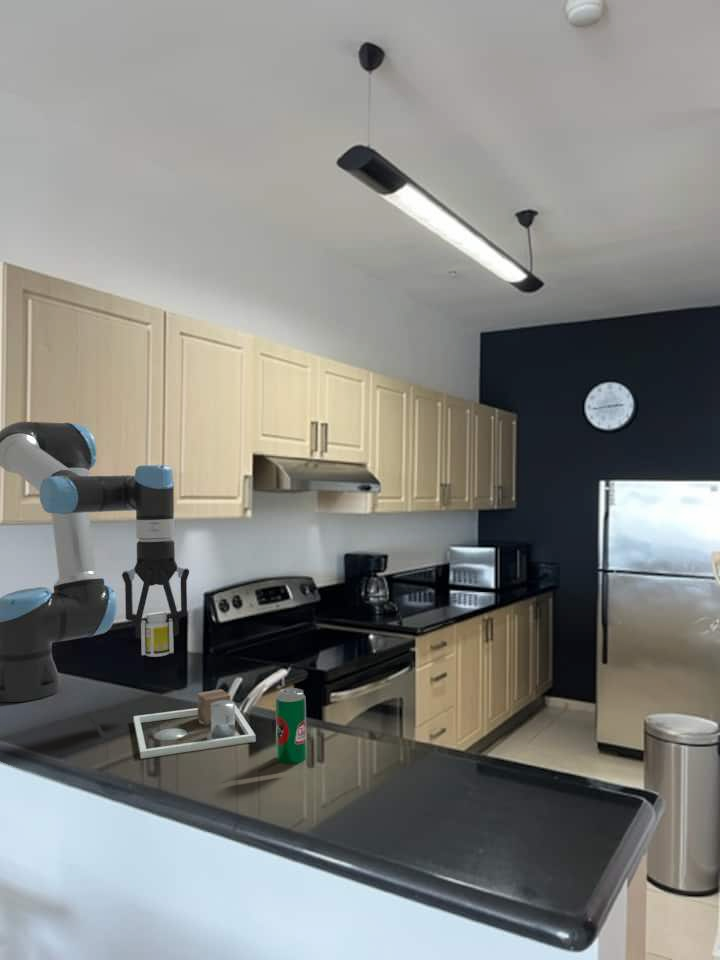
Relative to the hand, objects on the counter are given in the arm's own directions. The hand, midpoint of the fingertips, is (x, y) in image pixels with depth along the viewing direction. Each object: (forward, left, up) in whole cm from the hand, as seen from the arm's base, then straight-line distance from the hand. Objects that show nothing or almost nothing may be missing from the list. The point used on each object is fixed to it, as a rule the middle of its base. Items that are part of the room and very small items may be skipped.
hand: (157, 652), depth 147 cm
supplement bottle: (0, 0, -1) cm, 1 cm away
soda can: (+35, +19, -13) cm, 42 cm away
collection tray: (+15, +5, -13) cm, 20 cm away
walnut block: (+10, +10, -12) cm, 18 cm away
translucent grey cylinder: (+20, +10, -12) cm, 25 cm away
